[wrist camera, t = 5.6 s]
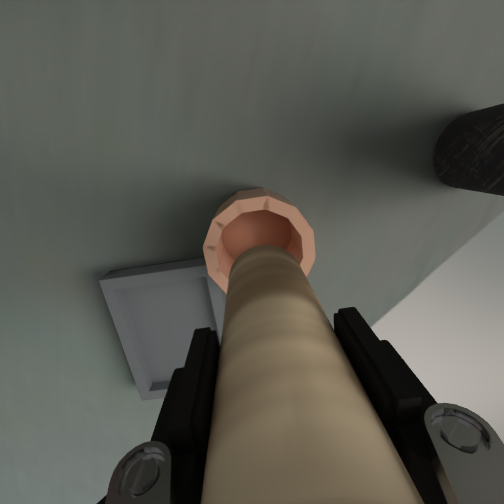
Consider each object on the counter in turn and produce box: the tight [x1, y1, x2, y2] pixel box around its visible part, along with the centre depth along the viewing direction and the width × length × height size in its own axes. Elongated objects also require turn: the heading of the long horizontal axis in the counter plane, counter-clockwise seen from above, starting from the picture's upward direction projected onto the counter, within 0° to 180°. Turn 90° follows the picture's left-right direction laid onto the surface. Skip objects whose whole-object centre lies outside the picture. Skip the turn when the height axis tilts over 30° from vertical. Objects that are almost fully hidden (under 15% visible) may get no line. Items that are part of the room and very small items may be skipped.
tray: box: [99, 257, 226, 400], centre depth 31 cm, size 16×12×2 cm
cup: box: [203, 188, 315, 294], centre depth 25 cm, size 9×9×7 cm
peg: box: [201, 245, 424, 504], centre depth 10 cm, size 4×4×12 cm
